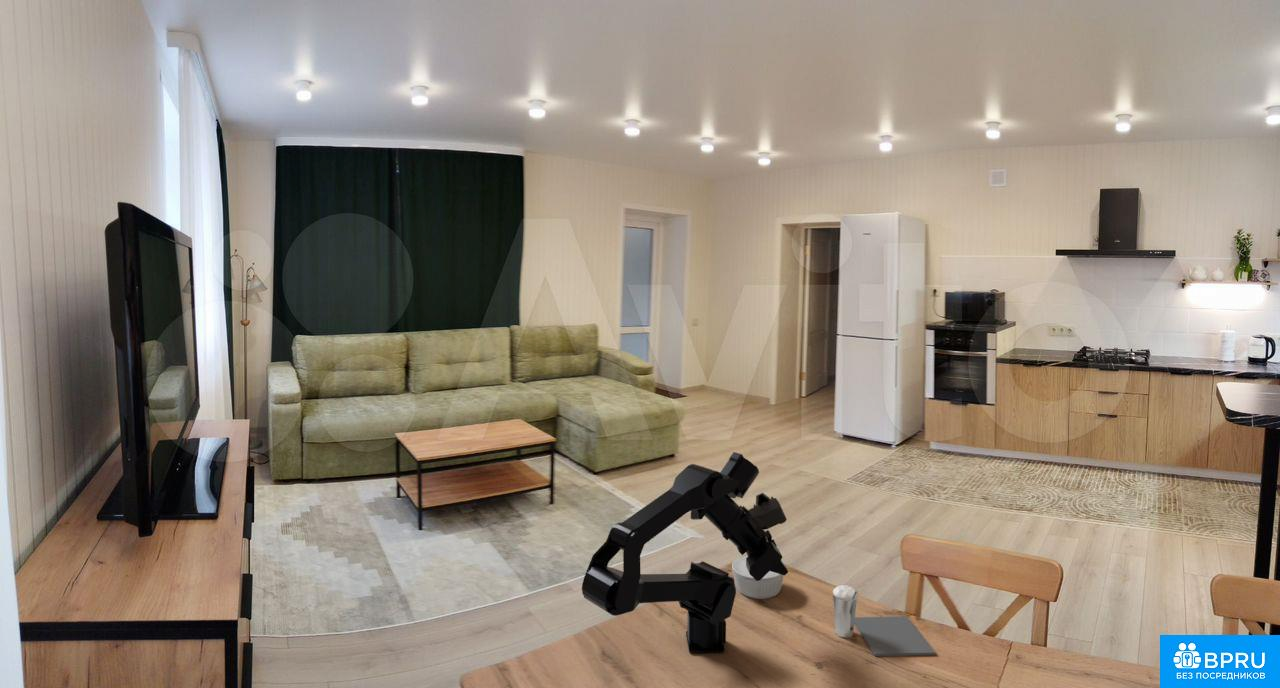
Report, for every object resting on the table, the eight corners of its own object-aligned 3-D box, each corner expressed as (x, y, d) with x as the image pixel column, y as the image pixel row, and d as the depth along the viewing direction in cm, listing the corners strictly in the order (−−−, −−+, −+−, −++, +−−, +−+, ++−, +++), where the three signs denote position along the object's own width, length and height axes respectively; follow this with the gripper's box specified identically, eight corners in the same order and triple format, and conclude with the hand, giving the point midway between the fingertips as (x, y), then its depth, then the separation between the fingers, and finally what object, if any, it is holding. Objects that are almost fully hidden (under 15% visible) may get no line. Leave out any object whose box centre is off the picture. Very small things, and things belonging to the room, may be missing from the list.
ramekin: (724, 594, 140) (724, 571, 139) (741, 572, 150) (741, 550, 149) (775, 607, 135) (776, 583, 134) (790, 583, 145) (790, 560, 144)
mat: (874, 656, 118) (875, 653, 118) (851, 619, 130) (851, 617, 130) (935, 655, 118) (935, 652, 118) (906, 618, 130) (906, 616, 130)
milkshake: (843, 644, 122) (845, 593, 120) (826, 629, 127) (828, 580, 125) (864, 639, 123) (866, 589, 122) (846, 624, 128) (848, 576, 127)
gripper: (771, 505, 111) (833, 566, 113) (749, 470, 130) (803, 523, 132) (724, 550, 112) (786, 610, 114) (709, 509, 131) (763, 561, 132)
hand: (786, 572), depth 123 cm, fingers closed
